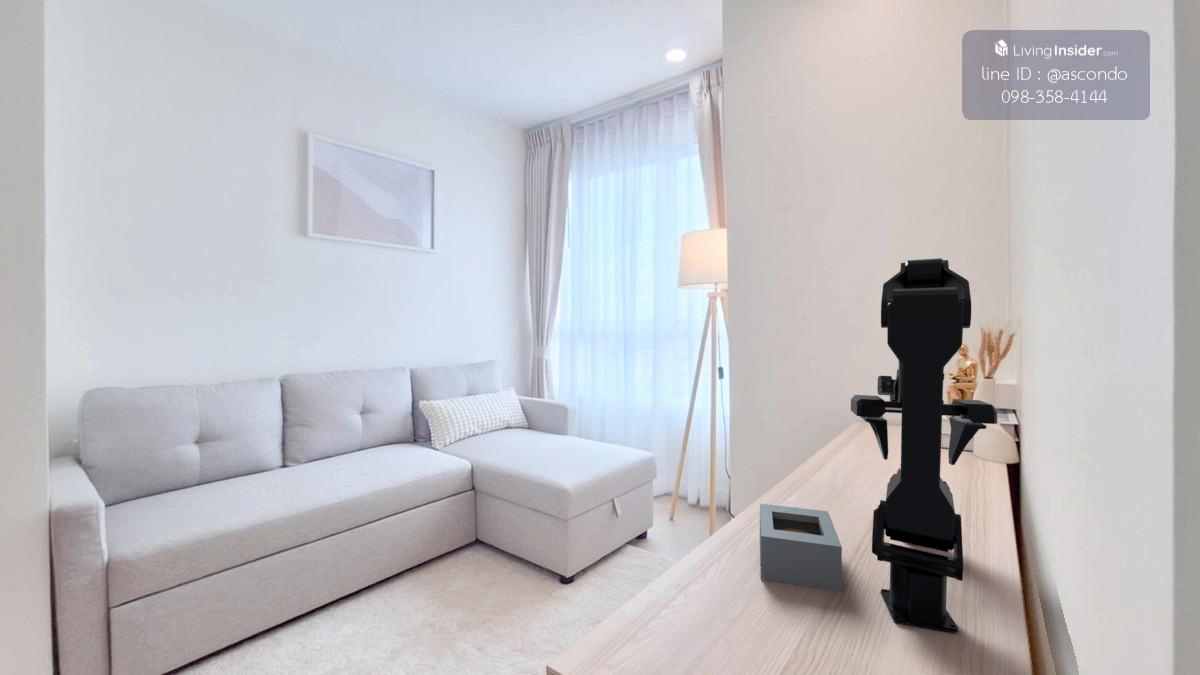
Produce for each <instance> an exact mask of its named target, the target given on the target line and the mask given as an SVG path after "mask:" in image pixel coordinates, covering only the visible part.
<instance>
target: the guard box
mask: <svg viewBox="0 0 1200 675" xmlns="http://www.w3.org/2000/svg"><path fill="white" fill-rule="evenodd" d="M781 529H798V530H802V531H805V532H808V533H810V534H806V533H798V532H790V531H782V530H781ZM842 551H843V546H842V543H841V542H840V538H839V536H838V533H837V531H836V529H835V526H834V524H833V520H832V518H831V516H830V513H829V511H828V510H819V509H813V508H812V509H811V508H803V507H802V508H801V507H795V506H794V507H792V506H786V505H785V506H784V505H775V504H767V503H759V557H760V559H759V560H760V562H759V563H760V567H761V568H760V579H761V578H764V579H763V580H766V579H768V580H767V581H772V580H773V582H779V583H785V584H792V585H798V586H804V587H810V588H811V587H812V588H817V589H821V590H822V589H823V590H828V591H829V590H830V591H836V592H840V593H841V592H842V570H843V569H842V561H843V560H842V558H843V557H842V554H843V552H842Z"/></svg>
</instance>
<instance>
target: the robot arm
mask: <svg viewBox="0 0 1200 675" xmlns="http://www.w3.org/2000/svg"><path fill="white" fill-rule="evenodd" d="M949 267H950V266H949V260H948V259H943V258H941V257H940V258H925V259H910V260H909V259H908V260H906V261H905V262H900V271H899V272H897V273H896V274H894V276H892V277H891V278H889V279H888V280H887V281H885V282H884V283H883V284H882V293H881V302H880V303H881V305H880V327H881V329H885V328H886V330H887V335H886V336H887V345H888V347H889V348H890V350H891V351H892V353H893V355H894V356H895V358H896V359H897V360H898V368H897V369H896V378H895V379H893V377H892V376H891V375H878V377H877V387H876V388H877V394H878V395H867V394H866V395H865V394H854V395H853V396H852V397H851V398H850V411H851V412H852V413H853V414H854V415H855V416H856V417H860V418H861V419H862V420H863V421H864V422H866V423H869V425H870V427H871V429H872V430H873V431H872V432H873V433H874V436H875V438H876V442H877V444H878V448H879V450H880V454H881V456H882V458H883V460H888V458H889V438H888V437H889V435H888V433H889V432H888V420H887V419H886V418H884V415H885V414H886V413H887V414H888V413H891V414H901V432H900V433H901V434H900V436H901V437H900V438H901V440H900V441H901V442H900V446H901V447H900V464H901V470H900V471H899V472H898V473H897V472H896V473H893V474H892V475H891V477H890V478H889V482H888V483H887V484H886V485H887V487H886V495H885V500H882V499H880V500H879V504H877V507H876V508H875V509H873V517H872V518H873V519H872V537H871V553H872V554H874V555H875V556H876V557H877V558H876V560H877V561H878V562H886V563H889V589H886V588H882V589H880V595H881V597H882V599H883V601H884V603H885V606H886V608H887V610H888V612H889V614H890V617H891V619H892V620H893V621H894V622H896V623H899V624H904V625H909V626H916V627H922V628H927V629H933V630H940V631H945V632H951V633H958V632H959V626H958V625H957V623H956V622H955V621H954V619H953V618H952V616H951V615H950V613H949V612H948V610H947V593H948V592H947V591H948V590H947V589H948V587H947V585H948V584H947V583H948V582H947V581H948V578H953V579H955V580H957V581H961V582H963V580H964V579H963V578H964V576H963V575H964V554H963V553H964V552H963V550H964V549H963V548H964V547H963V531H962V530H963V529H962V516H961V514H959V513H956V512H955V503H954V502H955V501H954V497H953V493H952V491H951V489H950V486H949V484H948V483H947V481H944V480H943V479H942V477H941V457H942V456H941V455H942V431H943V430H942V426H943V421H942V420H943V416H947V417H949V418H948V419H949V420H948V421H949V425H950V434H949V435H950V436H949V445H948V463H949V464H950V466H955V464H956V463H957V462H958V460H959V458H960V456H961V455H962V453H963V452H964V450H965V449H966V447H967V445H968V444H969V442H970V441H971V440H972V439H973V437H974V436H975V435H976V434H977V433H978V431H979V430H986V429H987V425H988V424H989V425H995V424H996V425H997V424H998V411H997V408H996V407H995V406H994V405H993V404H991V403H987V402H985V401H982V400H980V399H963V398H962V399H959V398H954V399H953V400H952V401H951V403H945V402H944V398H943V396H944V381H945V373H944V371H945V370H944V368H945V366H947V364H948V363H949V362H950V361H951V359H952V358H953V357H955V355H956V354H957V353H958V352H959V350H960V349H961V348H962V346H963V335H964V334H963V333H964V329H970V328H971V323H972V295H971V289H970V281H969V280H968V279H967V278H965V277H963V276H961V275H960V274H959V273H957V272H955V271H953V270H952V269H950V268H949ZM880 396H889V400H885V399H883V398H882V397H880ZM950 416H951V417H950ZM985 424H987V425H985ZM885 536H886V537H888V538H889V539H890V540H891V541H895V542H901V543H905V544H910V545H913V546H918V547H923V548H927V549H932V550H937V551H940V552H946V553H949V551H953V557H952V556H948V555H945V554H939V553H937V552H936V553H935V552H930V551H927V550H922V549H917V548H913V547H909V546H908V547H907V546H903V545H900V544H895V543H890V542H886V541H885Z"/></svg>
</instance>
